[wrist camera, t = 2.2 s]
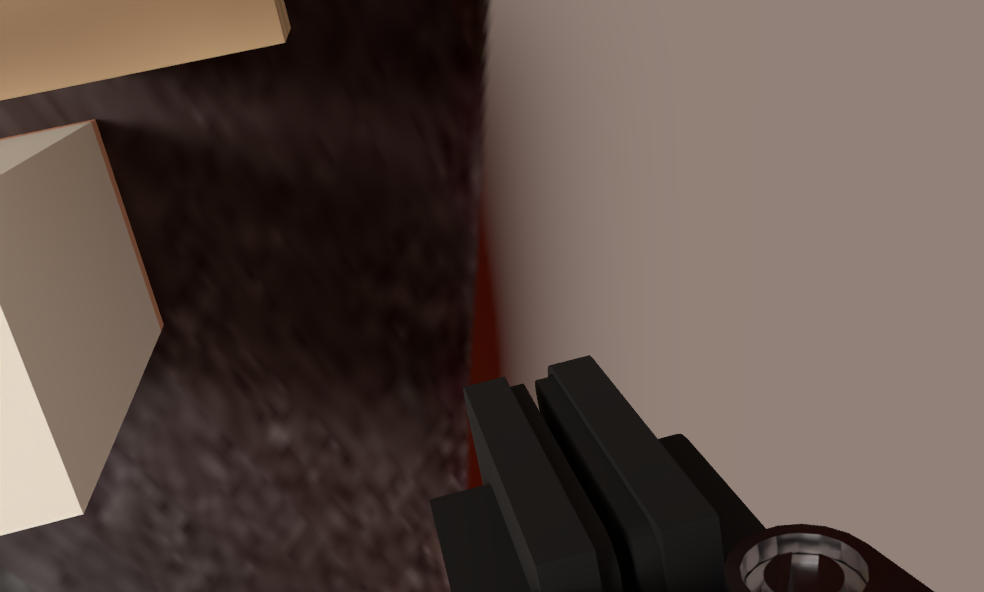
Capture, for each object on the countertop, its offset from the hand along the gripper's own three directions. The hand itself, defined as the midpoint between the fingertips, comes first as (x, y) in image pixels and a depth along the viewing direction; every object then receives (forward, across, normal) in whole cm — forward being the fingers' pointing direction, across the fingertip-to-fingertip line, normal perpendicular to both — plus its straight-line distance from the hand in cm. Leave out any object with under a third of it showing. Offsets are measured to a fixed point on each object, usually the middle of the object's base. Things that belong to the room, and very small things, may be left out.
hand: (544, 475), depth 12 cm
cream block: (+20, +11, -1) cm, 23 cm away
